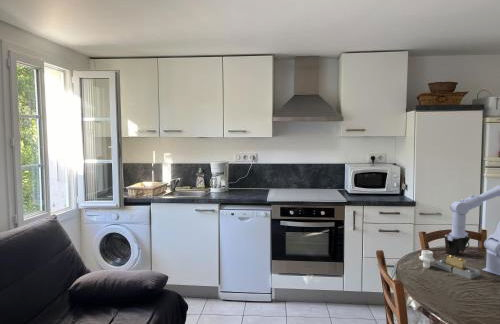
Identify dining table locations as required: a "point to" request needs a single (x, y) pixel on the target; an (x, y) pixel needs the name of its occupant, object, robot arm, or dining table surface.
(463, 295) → the dining table surface
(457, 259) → the gold bar with studs
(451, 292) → the dining table surface
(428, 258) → the pipe fitting
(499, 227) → the robot arm
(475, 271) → the grey slotted frame
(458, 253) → the coffee mug
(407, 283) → the dining table surface
